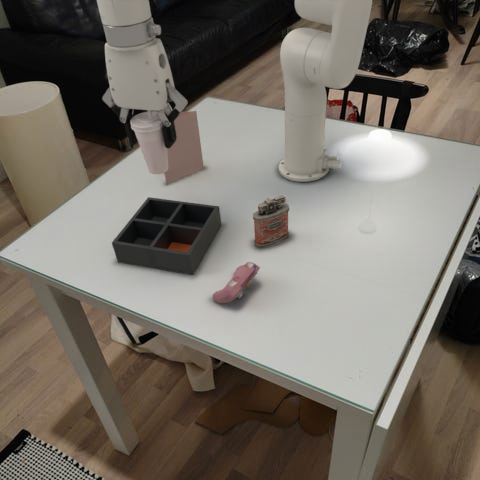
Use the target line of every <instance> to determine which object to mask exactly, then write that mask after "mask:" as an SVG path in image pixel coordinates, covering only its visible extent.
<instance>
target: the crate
mask: <svg viewBox="0 0 480 480" xmlns="http://www.w3.org/2000/svg"><path fill="white" fill-rule="evenodd" d="M220 209H221V208H220V205H211V204H203V203H198V202H197V203H196V202H188V201H181V200H172V199H165V198H158V197H150V196H149V197H147V198H146V199H145V200H144V202H143V203H142V204H141V205H140V207H139V208H138V209H137V210H136V212H135V213H134V214H133V215H132V217H131V218H130V219H129V221H128V222H127V223H126V224H125V225H124V227H123V228H122V229H121V230H120V231H119V233H118V234H117V236H116V237H115V238H114V239H113V241H112V242H111V245H112V248H113V251H114V254H115V255H114V256H115V258H116V260H117V263H120V264H127V265H131V266H132V265H133V266H138V267H143V268H150V269H156V270H161V271H167V272H173V273H178V274H179V273H180V274H185V275H190V276H194V274H195V272H196V271H197V269H198V267H199V266H200V264H201V262H202V261H203V258H204V257H205V255H206V254H207V252H208V250H209V248H210V246H211V245H212V243H213V241H214V240H215V238H216V236H217V234H218V233H219V231H220V229H221V227H222V225H223V224H222V217H221V211H220Z"/></svg>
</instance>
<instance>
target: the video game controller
mask: <svg viewBox="0 0 480 480" xmlns="http://www.w3.org/2000/svg"><path fill="white" fill-rule="evenodd" d="M260 269H261V267H260V266H259V265H258V264H257V263H255V262H253V261H247V262H246V263H244V264H241V265H239V266H237V267H236V269H235V271H234V273H233V276H232V277H231V278H230V279H229V281H228V282H227V283H226V285H225V286H224V287H223V288H222V289H219V290H217V291H215V292H213V294H212V299H213V301H214V302H215V303H218V304H227V303H229V302H232V301H234V300H236V299H237V298H238V299H241V298H242V296H243V292H242V291H243V290H245V289H246V288H249V286H250V283H251V281H252V280H253V279H254V278H255V277H256V275H257V274H258V272H259V270H260Z"/></svg>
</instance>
